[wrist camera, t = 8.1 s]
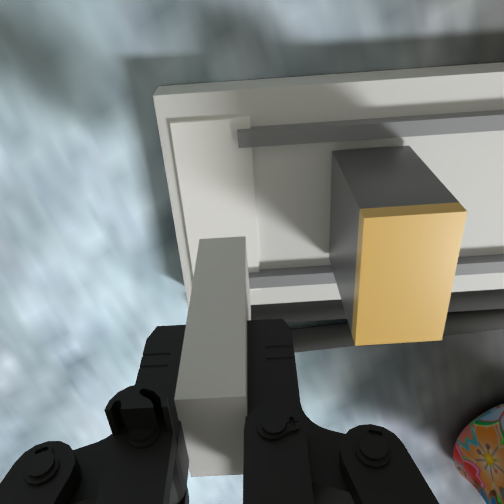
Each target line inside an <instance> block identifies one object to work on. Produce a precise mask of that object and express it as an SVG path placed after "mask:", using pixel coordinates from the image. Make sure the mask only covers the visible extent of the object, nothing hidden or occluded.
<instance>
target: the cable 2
mask: <svg viewBox="0 0 504 504" xmlns="http://www.w3.org/2000/svg"><path fill="white" fill-rule="evenodd" d="M496 329H504V309H490V310H475V311H459V312H447V317H446V322H445V327H444V332H443V335H452V334H461V333H469V332H478V331H487V330H496ZM292 338H293V347H294V353H295V352H304V351H312V350H321V349H330V348H338V347H347V346H355V344H354V340H353V337H352V334H351V330H350V327H349V324H348V323H344V324H335V325H327V326H318V327H309V328H301V329H292Z"/></svg>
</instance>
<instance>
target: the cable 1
mask: <svg viewBox="0 0 504 504" xmlns="http://www.w3.org/2000/svg"><path fill="white" fill-rule="evenodd" d="M490 309H504V289H494V290H478V291H463V292H451V297H450V302H449V307H448V312H459V311H475V310H490ZM282 318H283V320H284V321H285V322H302V321H318V320H333V319H347V317H346V314H345V310H344V307H343V304H342V300H341V299H338V300H322V301H306V302H291V303H275V304H260V305H251V320H263V319H282Z"/></svg>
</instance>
